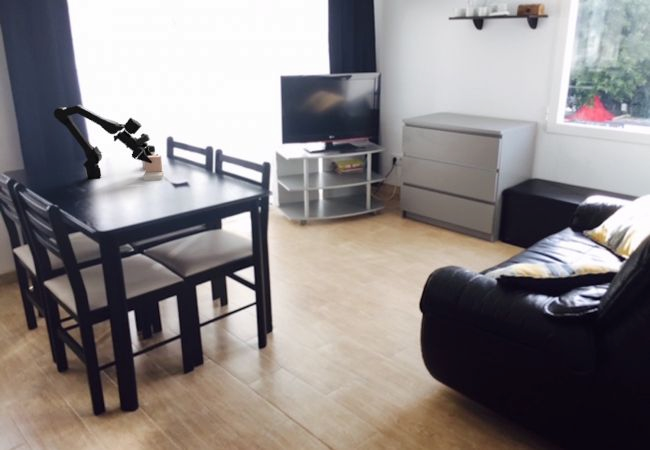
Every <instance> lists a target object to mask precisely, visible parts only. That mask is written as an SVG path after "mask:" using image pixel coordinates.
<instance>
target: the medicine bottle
mask: <svg viewBox="0 0 650 450" xmlns="http://www.w3.org/2000/svg"><path fill="white" fill-rule="evenodd" d="M147 146H148V147H149V151H150V152H151V154H152V155H153V156H158V155H159V153H158V152H156V148H155V145H153V144H152V145H151V144H148V145H147ZM147 146H146V147H147ZM141 163H142V168H143V169H145V161H141Z"/></svg>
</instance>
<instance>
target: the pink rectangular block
mask: <svg viewBox="0 0 650 450" xmlns="http://www.w3.org/2000/svg"><path fill="white" fill-rule="evenodd" d="M148 157H149V159H150V160H151V161H152V163H148V162H145V168H144V170H145V172H161V171H162V172H163V173H164V171H163V163H162V162H163V161H162V155H159V154H158V156H148Z"/></svg>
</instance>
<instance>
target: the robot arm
mask: <svg viewBox="0 0 650 450" xmlns="http://www.w3.org/2000/svg"><path fill="white" fill-rule="evenodd" d="M76 114H78V115H80V116H82V117H83V118H86V119H87V120H89V121H91V122H92V123H95V124H96V125H98V126H100V127H101V128H102V129H103V130H104V131H105V132H107V134H110V135H113V142H116V141H118V140H119V141H120V142H121V143H122V144H123V145H124V146H125V147H126V148H127V149H129V150H130V151H132V154H131V157H132V159H135V160H138V161H141V162H142V161H145V162H148V163H152V161H151V160H150V159H149V157H148V156H153V155H152V154H151V152H150V151H149V147H148V146H147V145H149V144H148V143H147V142H149V141H150V140H151V139H150V137H149V134H147V133H144V132H143V133H141V134H140V137H138V138H137V137H133V135H135V134H136V133H137V132H138V131H139V130H140V128H142V124H141V123H140V122H139V121H138V120H135V119H134V118H133V117H129V119H128V120H127V121H126V123H119V122H118V121H115V120H112V119H109V118H105V117H103V116H101V115H100V114H97V113H95V112H94V111H91V110H89V109H88V108H86V107H84V106H83V105H82V104H76V105H73V106H70V107H69V106H68V107H64V106H60V107H57V108H55V109H54V111H53V117H54V118H55V119H56V120H57V121H58V122H59V123H60V124H62V125H64V126H65V127H66V128H67V130H68V131H69V133H70V134H71V136H73V138H74V139H75V141H76V142H77V144H79V146H80V147H81V148H82V149H83V150H82V151H83V153H84V156H85V157H86V161H85V162H84V163H83V166H84V169H85V173H86V176H85V177H86V179H87V180H95V179H101V177H102V172H101V168H100V166H99V163H100V162H101V161H102V158H103V154H102V153H103V152H102V151H101V150H100V149H99V148H98V146H97V145H96V146H93V145H92V144H91V143H90V141H89V140H88V139H87V137H85V135H84V134H83V132H82V130H80V129H79V127H78V125H77V124H76V123H75V122H74V119H73V115H76ZM123 129H124V130H123ZM146 146H147V147H146Z"/></svg>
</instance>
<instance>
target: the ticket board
mask: <svg viewBox="0 0 650 450" xmlns="http://www.w3.org/2000/svg"><path fill="white" fill-rule="evenodd" d="M162 171H163V170H162ZM162 171H161V172H146V171H145V173H144V174H143V181H152V180H153V181H155V180H162V179H164V177H165V175H164V171H163V172H162Z"/></svg>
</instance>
